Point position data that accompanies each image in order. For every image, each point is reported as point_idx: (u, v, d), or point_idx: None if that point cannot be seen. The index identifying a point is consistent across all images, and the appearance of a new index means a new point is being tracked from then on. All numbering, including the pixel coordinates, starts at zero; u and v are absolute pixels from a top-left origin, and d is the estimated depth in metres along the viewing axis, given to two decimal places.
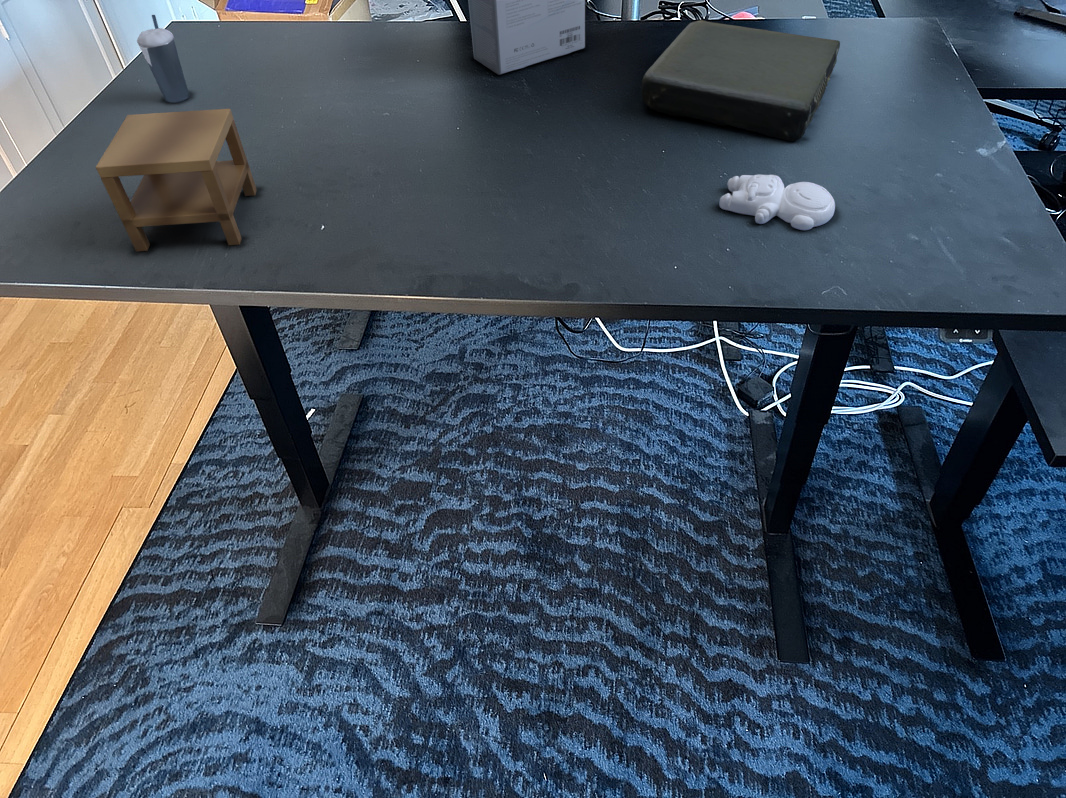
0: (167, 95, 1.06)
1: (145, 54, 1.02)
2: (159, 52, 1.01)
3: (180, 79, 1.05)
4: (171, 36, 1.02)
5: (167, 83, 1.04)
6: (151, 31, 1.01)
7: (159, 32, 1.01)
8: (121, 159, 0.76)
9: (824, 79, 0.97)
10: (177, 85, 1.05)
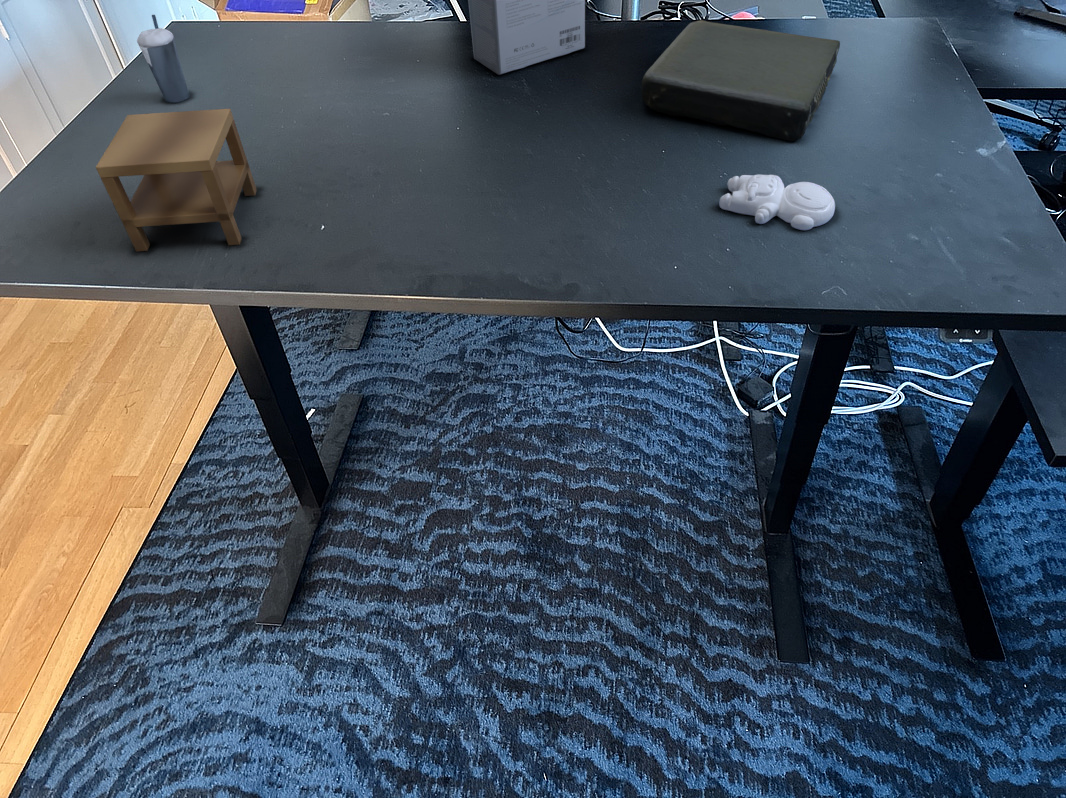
0: (167, 95, 1.06)
1: (145, 54, 1.02)
2: (159, 52, 1.01)
3: (180, 79, 1.05)
4: (171, 36, 1.02)
5: (167, 83, 1.04)
6: (151, 31, 1.01)
7: (159, 32, 1.01)
8: (121, 159, 0.76)
9: (824, 79, 0.97)
10: (177, 85, 1.05)
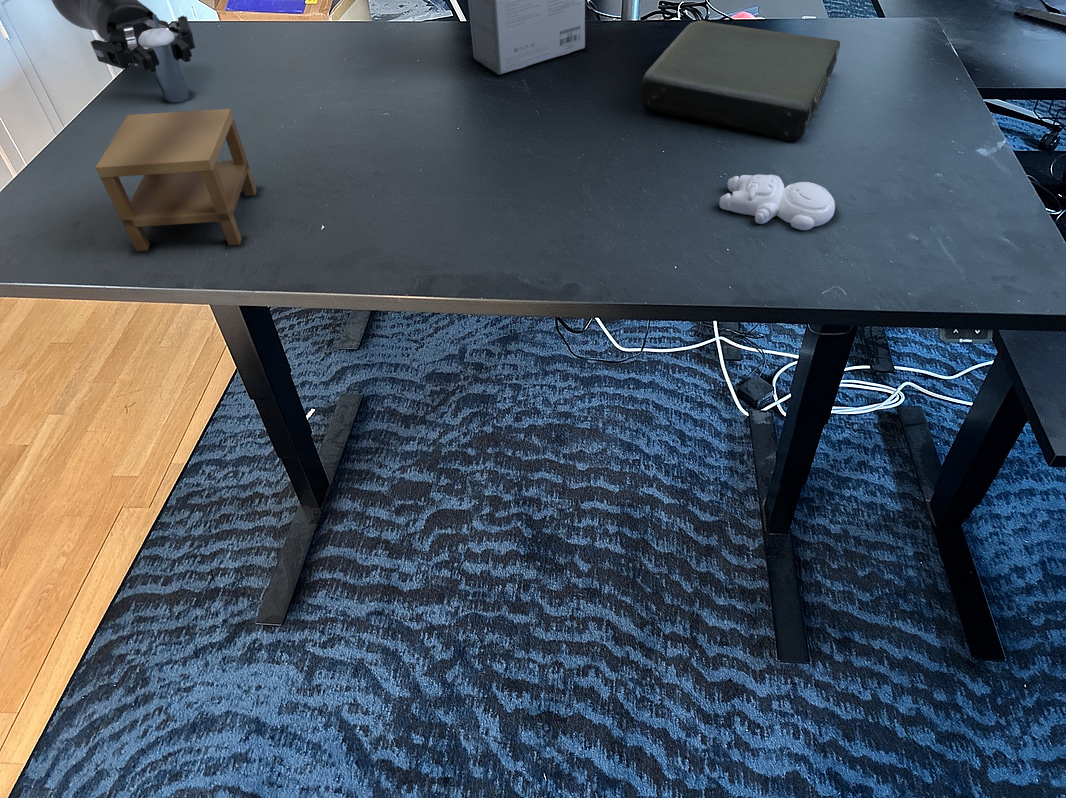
0: (167, 95, 1.06)
1: None
2: (160, 52, 1.01)
3: (181, 79, 1.05)
4: (172, 36, 1.02)
5: (168, 83, 1.04)
6: (152, 31, 1.01)
7: (160, 32, 1.01)
8: (121, 159, 0.76)
9: (824, 79, 0.97)
10: (178, 85, 1.05)
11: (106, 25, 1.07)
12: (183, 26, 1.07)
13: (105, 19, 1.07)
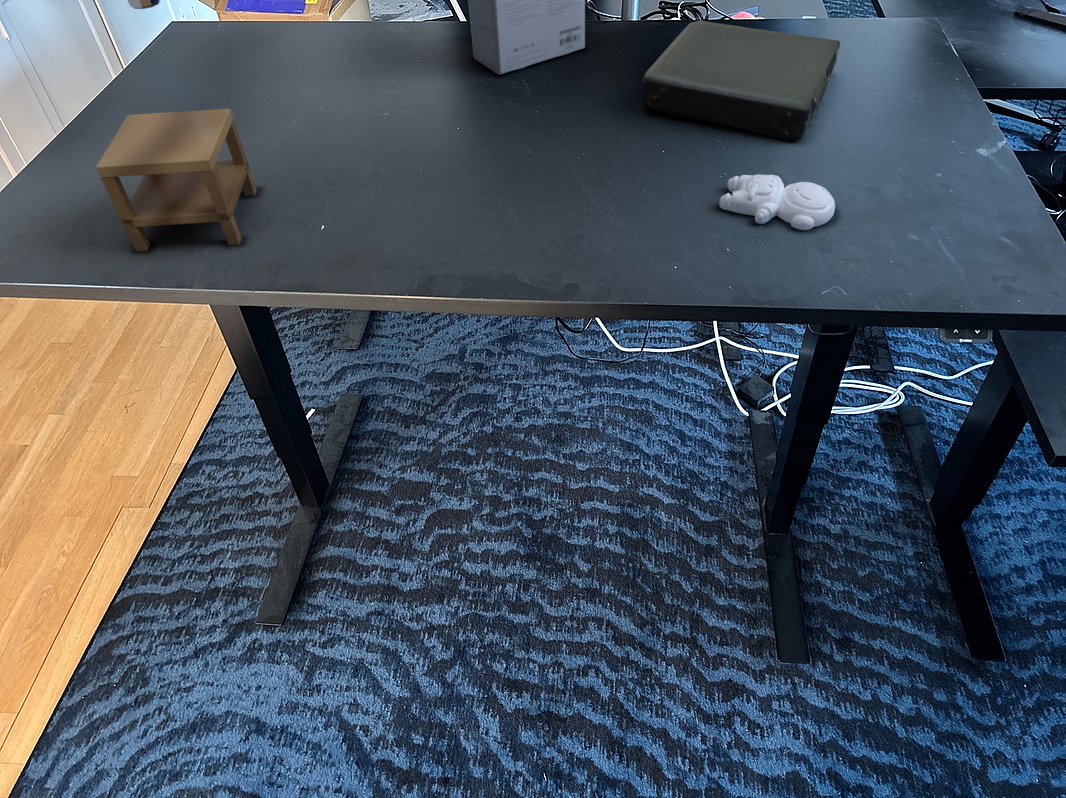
0: None
1: None
2: None
3: None
4: None
5: None
6: None
7: None
8: (121, 159, 0.76)
9: (824, 79, 0.97)
10: None
11: None
12: None
13: None
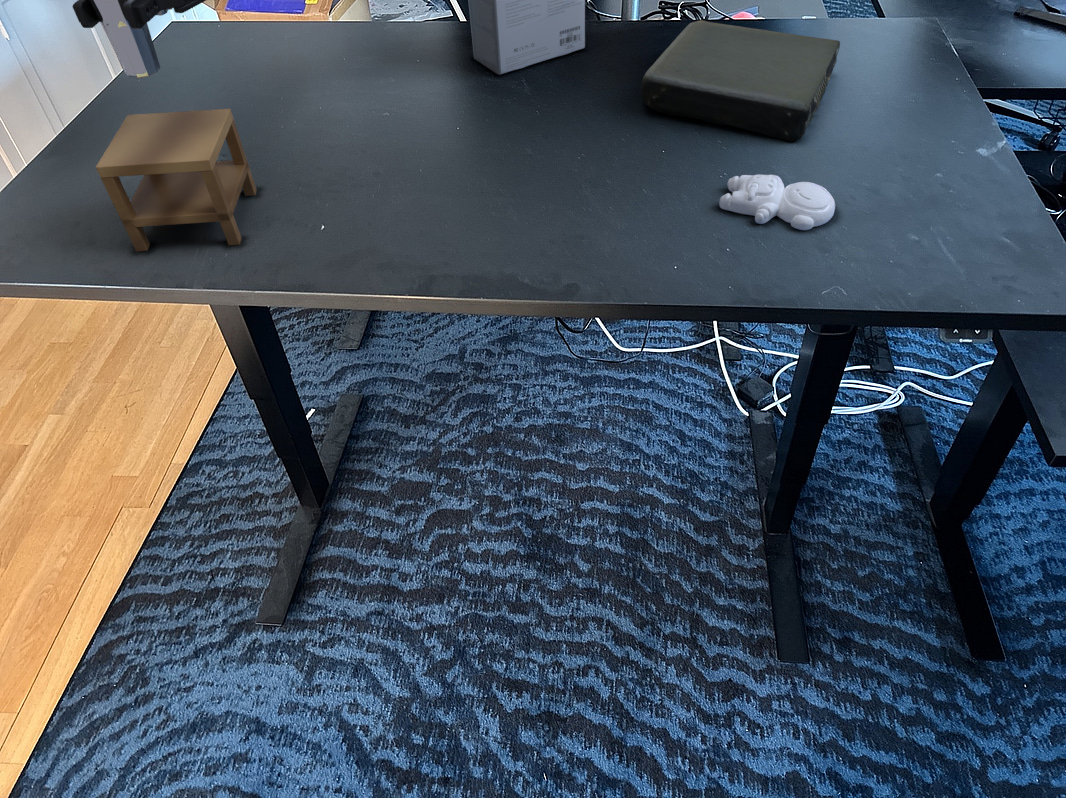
0: (121, 64, 0.75)
1: None
2: (96, 4, 0.70)
3: (134, 49, 0.73)
4: None
5: (114, 48, 0.73)
6: None
7: None
8: (121, 159, 0.76)
9: (824, 79, 0.97)
10: (128, 55, 0.74)
11: None
12: None
13: None
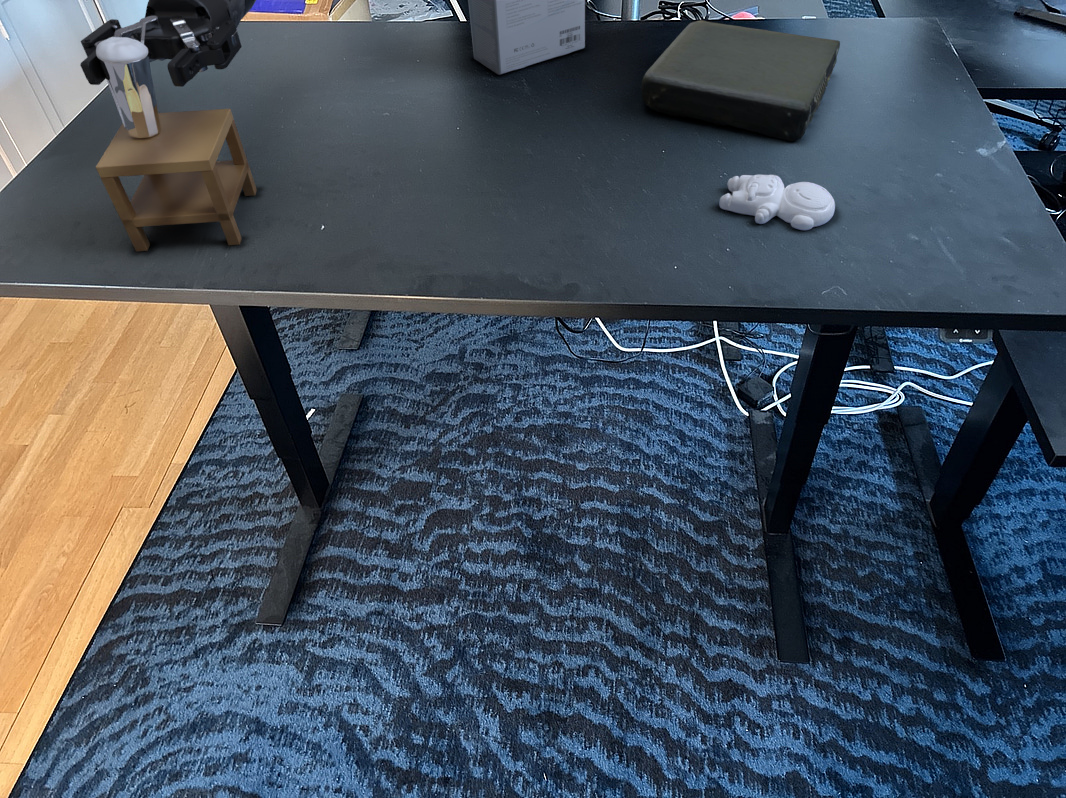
0: (123, 123, 0.78)
1: None
2: (109, 69, 0.73)
3: (139, 112, 0.77)
4: (134, 57, 0.73)
5: (120, 109, 0.76)
6: (116, 41, 0.73)
7: (118, 46, 0.72)
8: (121, 159, 0.76)
9: (824, 79, 0.97)
10: (132, 117, 0.77)
11: (146, 9, 0.80)
12: (217, 36, 0.76)
13: None
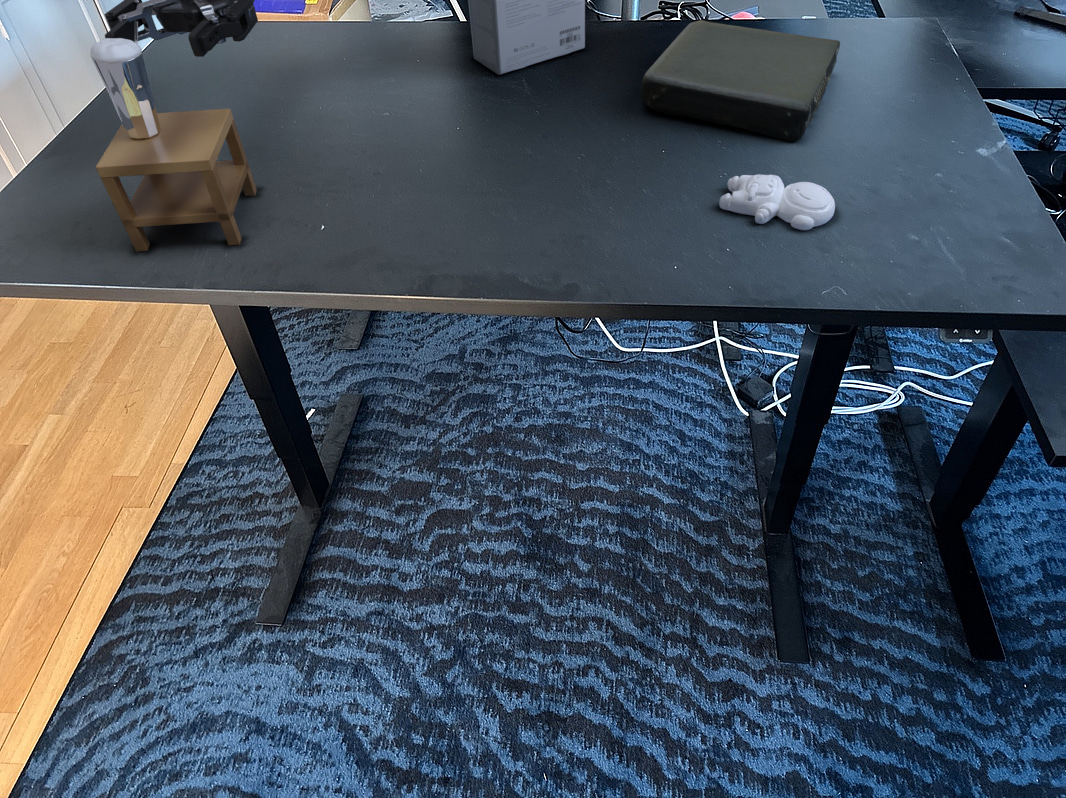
0: (123, 125, 0.78)
1: None
2: (103, 70, 0.73)
3: (137, 113, 0.77)
4: (127, 56, 0.73)
5: (118, 111, 0.77)
6: (110, 41, 0.73)
7: (111, 46, 0.72)
8: (121, 159, 0.76)
9: (824, 79, 0.97)
10: (131, 118, 0.77)
11: None
12: (235, 9, 0.79)
13: None
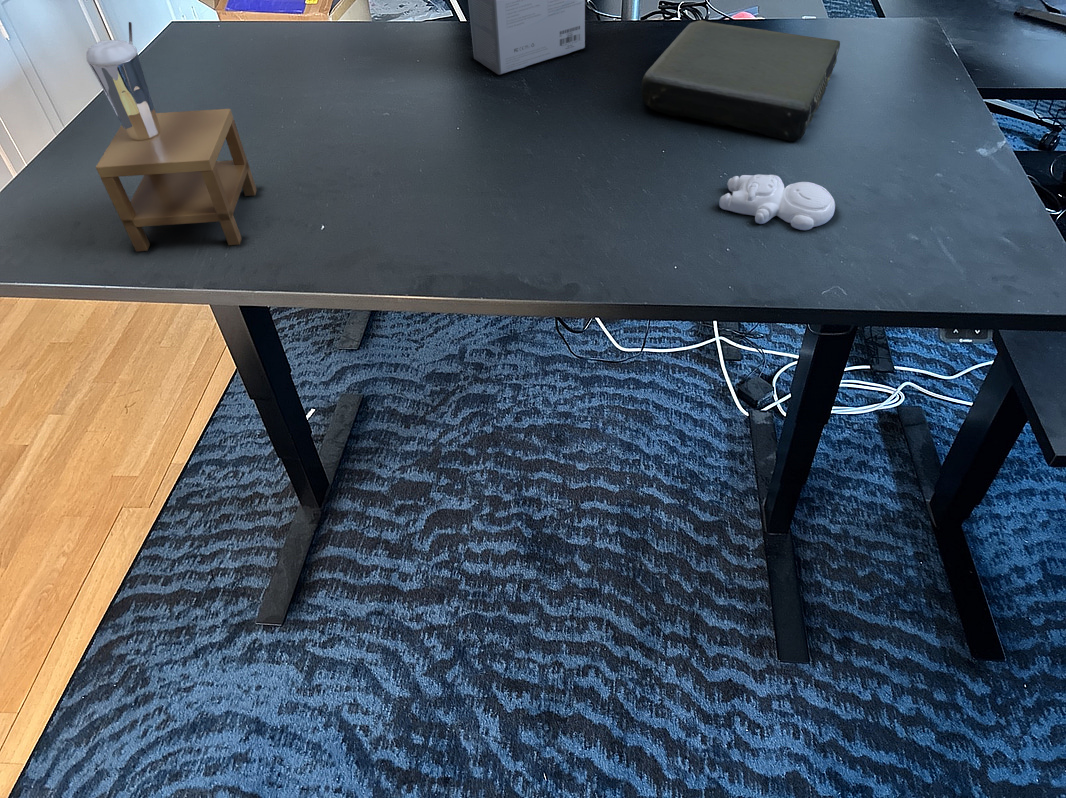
0: (123, 127, 0.78)
1: None
2: (100, 74, 0.73)
3: (136, 114, 0.77)
4: (122, 58, 0.73)
5: (117, 113, 0.77)
6: (104, 44, 0.73)
7: (106, 49, 0.72)
8: (121, 159, 0.76)
9: (824, 79, 0.97)
10: (130, 120, 0.77)
11: None
12: None
13: None
